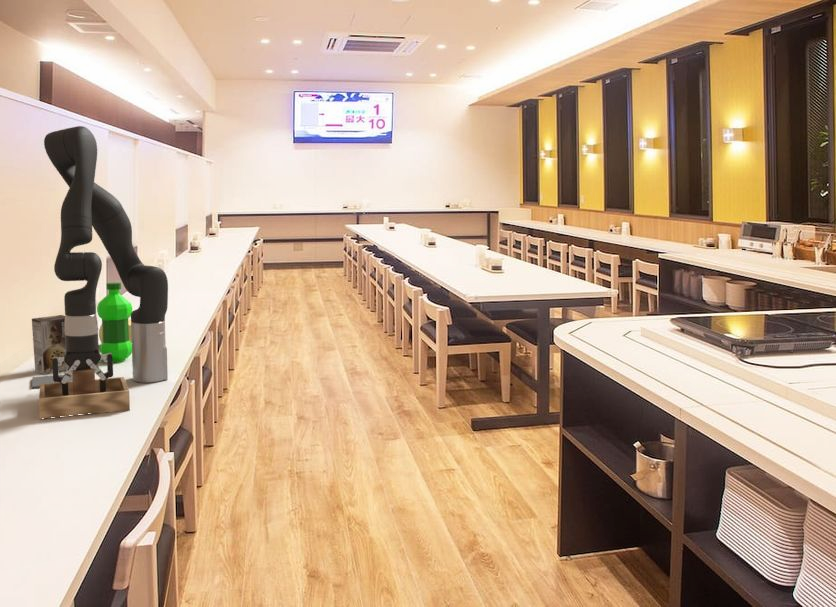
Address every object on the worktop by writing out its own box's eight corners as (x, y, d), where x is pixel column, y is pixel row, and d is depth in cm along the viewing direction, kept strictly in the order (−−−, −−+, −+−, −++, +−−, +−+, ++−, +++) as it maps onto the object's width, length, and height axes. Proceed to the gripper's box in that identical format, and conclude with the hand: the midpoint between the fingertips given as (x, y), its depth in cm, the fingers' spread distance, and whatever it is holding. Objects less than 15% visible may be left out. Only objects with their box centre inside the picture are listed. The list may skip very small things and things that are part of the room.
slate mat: (75, 375, 211) (75, 373, 211) (76, 385, 202) (76, 382, 201) (32, 379, 206) (32, 377, 206) (31, 388, 197) (31, 386, 197)
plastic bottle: (139, 357, 236) (136, 281, 232) (123, 364, 226) (120, 286, 222) (110, 355, 237) (107, 280, 233) (93, 363, 227) (89, 284, 223)
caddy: (124, 394, 193) (124, 376, 193) (129, 410, 180) (129, 391, 179) (41, 402, 185) (40, 383, 184) (40, 419, 171) (38, 399, 171)
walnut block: (95, 402, 186) (93, 365, 184) (96, 408, 181) (94, 369, 180) (73, 405, 184) (72, 366, 182) (74, 410, 179) (72, 371, 178)
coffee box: (64, 365, 223) (61, 314, 220) (74, 369, 219) (71, 317, 216) (33, 370, 216) (30, 318, 213) (43, 374, 212) (40, 320, 209)
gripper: (111, 327, 186) (113, 388, 188) (49, 331, 180) (52, 394, 182) (113, 332, 179) (116, 396, 182) (49, 336, 173) (52, 402, 175)
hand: (84, 395), depth 182 cm, fingers open, 7 cm apart
